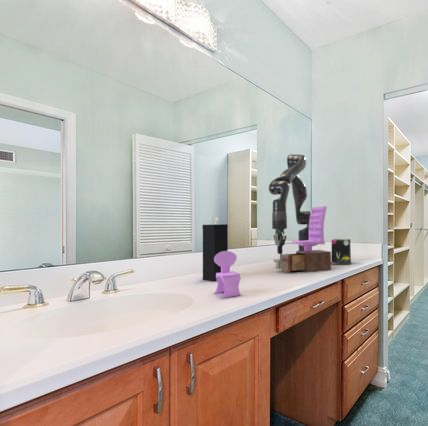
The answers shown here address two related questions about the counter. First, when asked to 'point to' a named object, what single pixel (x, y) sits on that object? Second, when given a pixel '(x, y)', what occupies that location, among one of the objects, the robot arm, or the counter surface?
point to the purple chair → (314, 229)
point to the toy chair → (227, 274)
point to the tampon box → (341, 251)
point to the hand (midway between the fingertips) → (279, 253)
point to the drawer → (291, 262)
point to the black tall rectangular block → (213, 248)
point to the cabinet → (316, 260)
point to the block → (278, 264)
